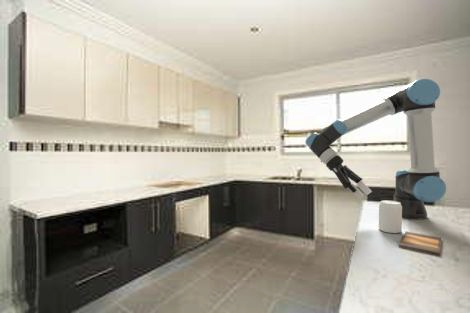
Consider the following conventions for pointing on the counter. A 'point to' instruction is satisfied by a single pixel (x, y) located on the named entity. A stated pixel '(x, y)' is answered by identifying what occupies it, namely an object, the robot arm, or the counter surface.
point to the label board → (421, 243)
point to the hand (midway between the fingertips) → (365, 195)
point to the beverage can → (390, 216)
